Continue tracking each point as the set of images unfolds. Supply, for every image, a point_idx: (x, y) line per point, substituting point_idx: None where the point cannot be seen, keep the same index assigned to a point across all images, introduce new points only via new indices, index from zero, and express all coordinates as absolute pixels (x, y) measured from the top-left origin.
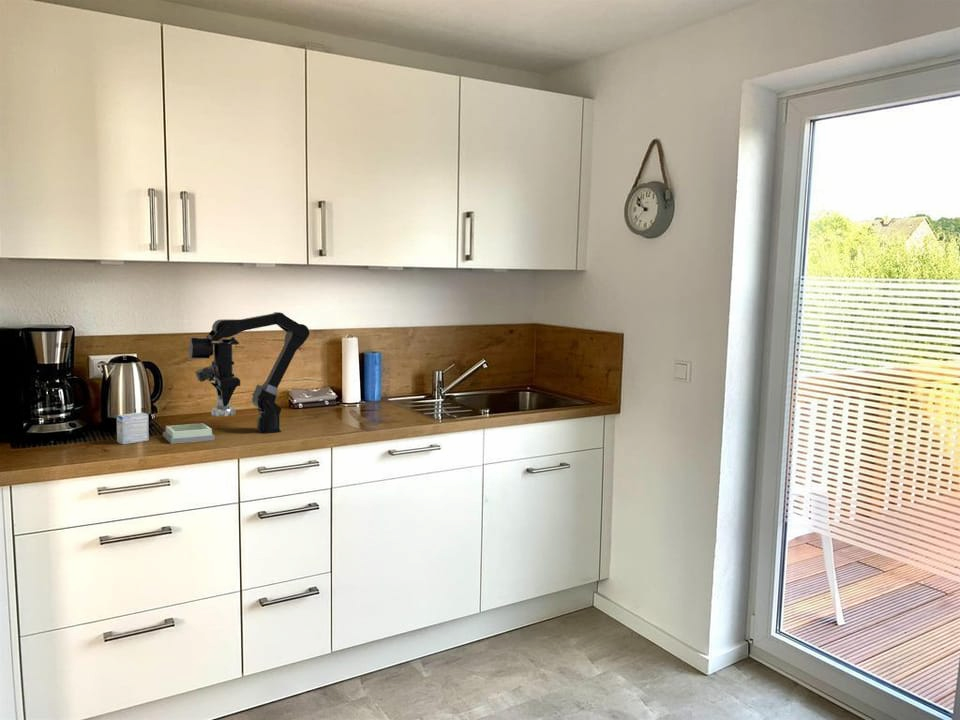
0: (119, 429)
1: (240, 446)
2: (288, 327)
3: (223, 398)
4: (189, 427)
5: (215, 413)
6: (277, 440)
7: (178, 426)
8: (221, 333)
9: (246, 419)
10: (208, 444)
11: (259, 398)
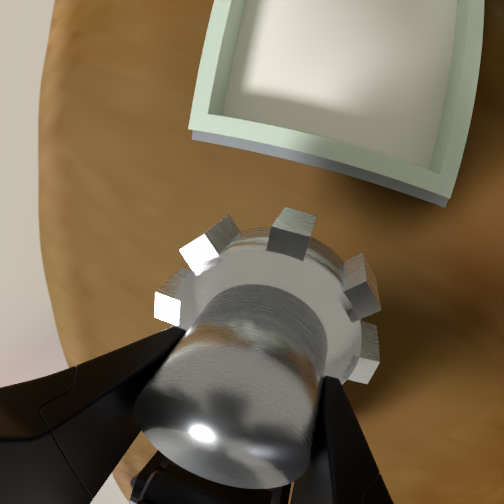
0: None
1: (49, 177)
2: None
3: (98, 365)
4: (452, 93)
5: (257, 233)
6: (86, 323)
7: (464, 25)
8: None
9: (498, 450)
10: (128, 76)
11: (139, 498)
